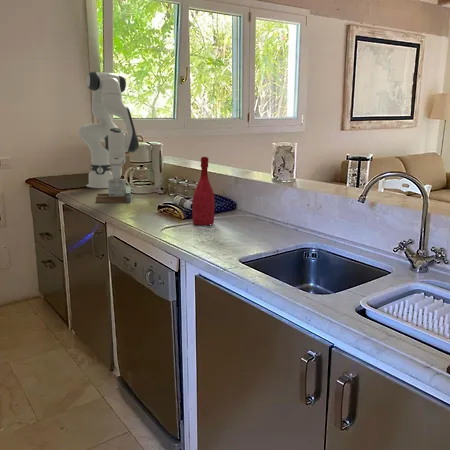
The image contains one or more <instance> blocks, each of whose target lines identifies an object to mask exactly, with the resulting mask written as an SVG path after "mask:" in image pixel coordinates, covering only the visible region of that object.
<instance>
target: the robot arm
mask: <svg viewBox="0 0 450 450" xmlns="http://www.w3.org/2000/svg"><path fill="white" fill-rule="evenodd" d="M86 77H87V78H86V85H87V88H88V89H89V90H90V91H93V92H92V97H91V98H92V100H91V101H92V102H91V113H92V115H93V117H95V118H97V119H98V123H87V124H82V125H81V126H80V127H79V129H78V137H79V138H80V140H82V141H83V142H84V143H85V145H87V147H88V149H89V152H90V161H91V164H90V170H91V171H90V172H89V173H88V184H86V185H85V187H86V186H87V187H86V188H90V189H109V185H108V180H109V179H115V185H116V187H119V179H121V178H122V177H121V176H122V174H123V173H122V172H123V171H122V167H123V166H124V164H125V163H126V161H127V160H126V153H132V154H134V153H135V152H137V151H138V149H139V148H140V147H139V146H140V141H139V138H138V135H137V132H136V129H135V125H134V121H133V117H132V113H131V110H130V109H129V107H128V106H126V104H125V103H124V102H123V97H122V96H123V95H122V93H123V92H125V90H126V87H127V80H126V77H125V75H122V74H118V73H113V72H104V71H103V72H101V71H100V72H99V71H91V72H90V71H89V73H88V74H87V76H86ZM112 115H113V116H115V117H118V118H120V119H121V120H123V121H124V125H125V129H126V132H127V133H125V132H124V129H122V128H119V127H118V126H117V125H116V124H115V123H114V121H113V118H112ZM102 142H103V143H104V147H103V146H102Z"/></svg>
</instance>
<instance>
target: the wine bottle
mask: <svg viewBox="0 0 450 450" xmlns="http://www.w3.org/2000/svg"><path fill="white" fill-rule="evenodd" d="M208 168H209V157H207V156H202V157H201V158H200V169H201V171H200V178H199V181H198V183H197V186H196V188H195V190H194V193H193V196H192V223H193V225H195V224H196V225H195V226H198V225H210V224H212V225H214V223H215V212H216V210H215V208H216V203H215V202H216V200H215V198H216V197H215V194H214V190H213V187H212V185H211V183H210V180H209V175H208ZM210 226H211V225H210Z"/></svg>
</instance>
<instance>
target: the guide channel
mask: <svg viewBox="0 0 450 450" xmlns="http://www.w3.org/2000/svg"><path fill="white" fill-rule="evenodd" d="M131 200H132V191H131V189H126V196H109V192H103V193H102V192H100V193H98V192H97V194H96V196H95V203H131Z"/></svg>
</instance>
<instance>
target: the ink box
mask: <svg viewBox="0 0 450 450" xmlns="http://www.w3.org/2000/svg"><path fill="white" fill-rule="evenodd" d="M108 185H109V188H108V193H109V196H126V193H127V179H126V178H120V179H119V187H116V185H115V179H109V180H108Z"/></svg>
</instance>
